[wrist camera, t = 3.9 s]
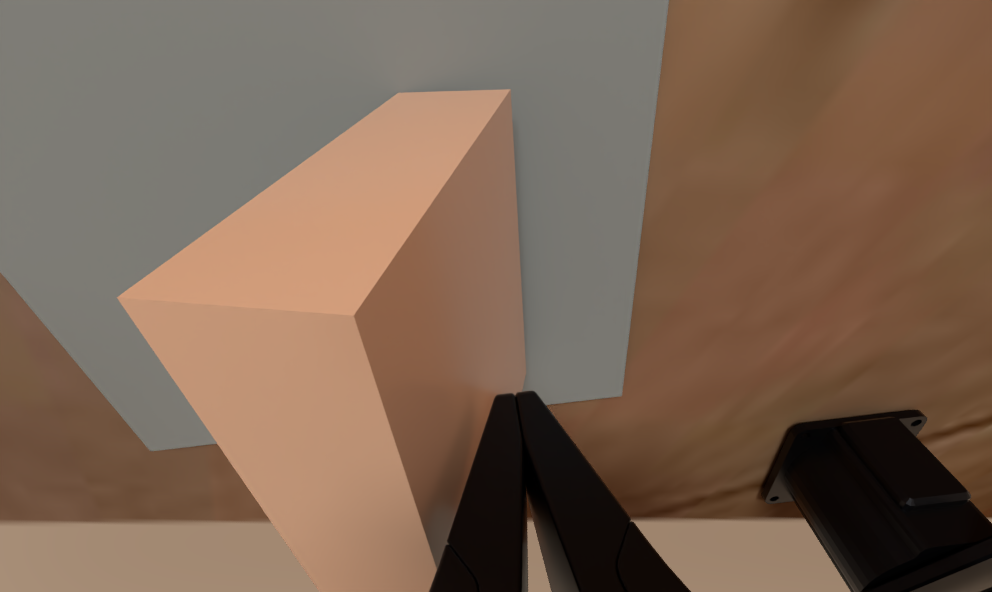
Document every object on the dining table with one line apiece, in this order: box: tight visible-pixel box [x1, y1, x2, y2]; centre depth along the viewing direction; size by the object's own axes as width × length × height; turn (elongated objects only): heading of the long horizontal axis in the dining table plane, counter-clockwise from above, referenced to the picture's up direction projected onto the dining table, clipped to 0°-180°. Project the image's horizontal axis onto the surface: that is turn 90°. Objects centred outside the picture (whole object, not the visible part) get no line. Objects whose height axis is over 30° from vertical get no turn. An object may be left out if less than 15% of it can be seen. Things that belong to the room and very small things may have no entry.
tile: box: [117, 89, 526, 592], centre depth 12 cm, size 10×3×9 cm, turn 5°
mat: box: [0, 0, 669, 451], centre depth 16 cm, size 16×20×1 cm
